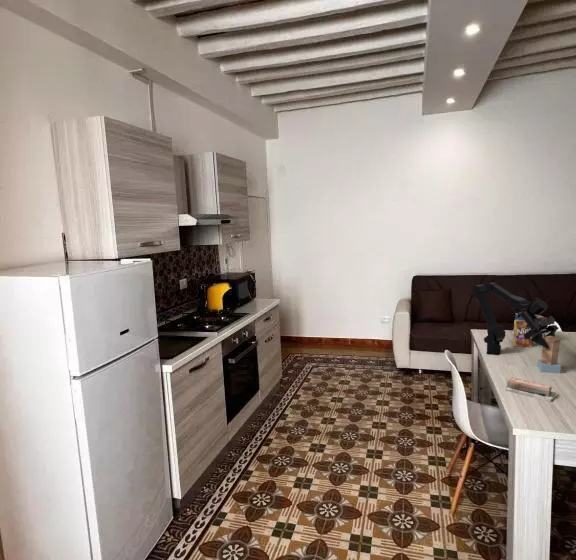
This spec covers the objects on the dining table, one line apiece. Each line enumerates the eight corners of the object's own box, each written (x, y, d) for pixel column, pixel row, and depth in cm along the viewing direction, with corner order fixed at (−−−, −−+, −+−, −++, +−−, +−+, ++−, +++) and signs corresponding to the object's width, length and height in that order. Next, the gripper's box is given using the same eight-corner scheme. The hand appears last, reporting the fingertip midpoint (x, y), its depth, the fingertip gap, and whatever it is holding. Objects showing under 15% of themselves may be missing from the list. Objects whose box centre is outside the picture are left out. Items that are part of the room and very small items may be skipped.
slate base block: (541, 372, 202) (541, 364, 202) (537, 367, 210) (537, 359, 209) (560, 374, 199) (560, 366, 199) (555, 368, 207) (556, 360, 206)
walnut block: (540, 361, 205) (543, 337, 203) (547, 359, 207) (550, 335, 205) (550, 365, 201) (553, 340, 198) (557, 363, 203) (560, 338, 200)
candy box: (514, 346, 243) (515, 321, 240) (512, 344, 247) (513, 319, 245) (531, 347, 240) (532, 321, 238) (530, 345, 244) (530, 319, 242)
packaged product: (504, 380, 182) (512, 374, 189) (503, 391, 183) (512, 384, 189) (551, 391, 169) (558, 384, 176) (550, 403, 170) (558, 395, 176)
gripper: (530, 313, 200) (552, 341, 192) (555, 308, 208) (577, 335, 199) (514, 326, 209) (535, 353, 200) (539, 321, 216) (560, 347, 208)
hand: (552, 347), depth 202 cm, fingers open, 6 cm apart
